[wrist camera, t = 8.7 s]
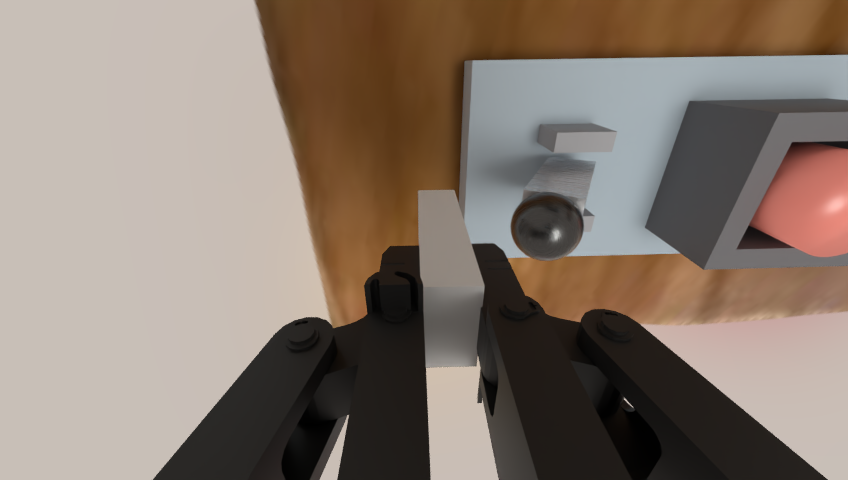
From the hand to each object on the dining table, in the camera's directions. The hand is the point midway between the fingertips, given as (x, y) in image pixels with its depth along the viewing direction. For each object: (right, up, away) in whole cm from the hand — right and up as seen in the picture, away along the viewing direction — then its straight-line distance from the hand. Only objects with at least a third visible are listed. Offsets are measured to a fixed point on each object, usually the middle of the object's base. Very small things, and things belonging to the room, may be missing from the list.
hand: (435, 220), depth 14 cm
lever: (+8, +3, +4) cm, 9 cm away
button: (+18, +3, +5) cm, 19 cm away
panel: (+15, +5, +8) cm, 18 cm away
